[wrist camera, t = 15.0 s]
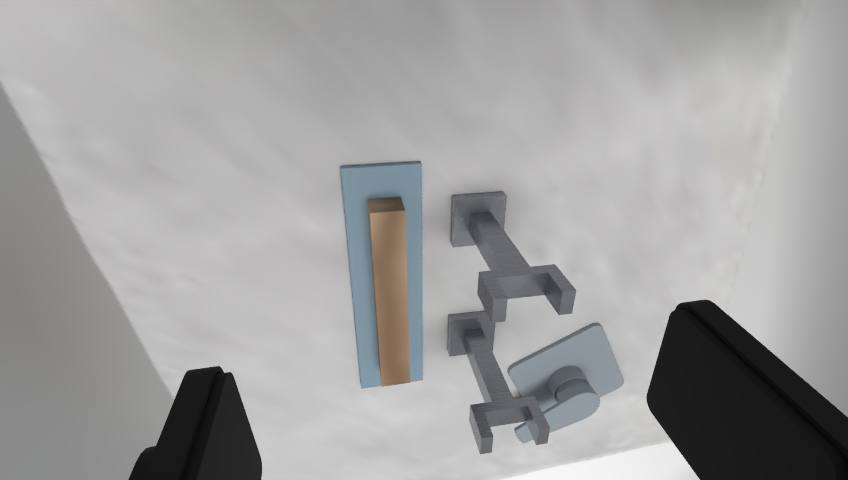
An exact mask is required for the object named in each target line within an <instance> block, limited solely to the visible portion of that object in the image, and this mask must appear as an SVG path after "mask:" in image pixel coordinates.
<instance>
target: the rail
mask: <svg viewBox="0 0 848 480" xmlns="http://www.w3.org/2000/svg"><path fill="white" fill-rule="evenodd" d="M367 201H368V215H369V229H370V243H371V257H372V272H373V286H374V300H375V314H376V328H377V342H378V357H379V369H380V376H381V384H382V386H389V385H396V384H403V383H410V359H409V322H408V286H407V250H406V214H405V208H404V205H403V202H402V199H401V197H390V198H377V199H367Z"/></svg>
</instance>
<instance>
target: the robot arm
mask: <svg viewBox="0 0 848 480" xmlns="http://www.w3.org/2000/svg"><path fill="white" fill-rule="evenodd" d="M647 403H648V407H649V409H650V411H651V412H652V414H653V415H654V417H655V418H656V419H657V421H658V422H659V424H660V425H661V426H662V428H663V429H664V430H665V432H666V433H667V435H668V436H669V437H670V439H671V440H672V441H673V443H674V444H675V446H676V447H677V448H678V450H679V451H680V452H681V454H682V455H683V457H684V458H685V459H686V461H687V462H688V464H689V465H690V466H691V468H692V469H693V470H694V472H695V473H696V475H697V476H698V477H699V479H700V480H848V417H846V416H845V415H844V414H843V413H842V412H841V411H840V410H838V409H837V408H836V407H835V406H834V405H832V404H831V403H830V402H829V401H828V400H827V399H825V398H824V397H823V396H822V395H821V394H819V393H818V392H817V391H816V390H815V389H814V388H813V387H811V386H810V385H809V384H808V383H807V382H805V381H804V380H803V379H802V378H801V377H800V376H798V375H797V374H796V373H795V372H794V371H793V370H791V369H790V368H789V367H788V366H787V365H786V364H784V363H783V362H782V361H781V360H780V359H779V358H778V357H776V356H775V355H774V354H773V353H772V352H770V351H769V350H768V349H767V348H766V347H765V346H764V345H762V344H761V343H760V342H759V341H758V340H757V339H755V338H754V337H753V336H752V335H751V334H749V333H748V332H747V331H746V330H745V329H744V328H742V327H741V326H740V325H739V324H738V323H737V322H736V321H734V320H733V319H732V318H731V317H730V316H729V315H727V314H726V313H725V312H724V311H723V310H722V309H720V308H719V307H718V306H717V305H716V304H715V303H713V302H711V301H709V300H699V301H692V302H685V303H680V304H679V305H678V306H677V307H676V309H675V311H673V312H672V313H671V314H670V316H669V320H668V323H667V327H666V330H665V334H664V337H663V341H662V344H661V348H660V351H659V355H658V358H657V361H656V365H655V368H654V372H653V375H652V379H651V382H650V386H649V389H648V393H647ZM261 476H262V462H261V457H260V454H259V451H258V448H257V445H256V442H255V439H254V436H253V433H252V430H251V427H250V424H249V421H248V418H247V415H246V412H245V409H244V406H243V403H242V400H241V397H240V394H239V391H238V388H237V385H236V382H235V379H234V376H233V374H232V373H231V372H228V373H224V372H223V370H222V368H221V367H220V366H217V367H209V368H202V369H195V370H189V371H187V372H186V374H185V375H184V378H183V380H182V383H181V385H180V388H179V390H178V393H177V395H176V398H175V400H174V403H173V405H172V408H171V410H170V413H169V415H168V418H167V420H166V423H165V425H164V428H163V430H162V433H161V435H160V438H159V440H158V443H157V445H156V446H154V447H149V448H146V449H145V450H144V451H143V452H142V453H141V454H140V456H139V458H138V460H137V461H136V463H135V466H134V468H133V470H132V473H131V475H130V477H129V480H261Z"/></svg>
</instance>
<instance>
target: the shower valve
mask: <svg viewBox="0 0 848 480" xmlns="http://www.w3.org/2000/svg"><path fill="white" fill-rule="evenodd" d="M508 373H509V375H510V377H511V379H512V381H513V382H514V384H515V386H516V387H517V389H518V390H519V392H520V394H521V395H522V397H528V396H535V398H536V400H537V402H538V404H539V406H540V408H541V410H542V412H543V414H544V416H545V418H546V420H547V422H548V424H549V426H550V431H549V433H551V432H553V431H556V430H558V429H561V428H563V427H565V426H568V425H570V424H573V423H576V422H578V421H581V420H583V419H585V418H587V417H589V416H590V415H592V414H593V413H594V412H595V411H596V410H597V409H598V407H599V404H600V399H599V398H600V397H602V396H604V395H606V394H608V393H610V392H612V391H614V390H616V389H618V388H619V387H621V386H622V385H623V383H624V380H623V377H622V375H621V372H620V369H619V367H618V364H617V362H616V359H615V357H614V354H613V352H612V349H611V347H610V344H609V342H608V339H607V337H606V334H605V332H604V329H603V328H602V326H601V325H600V324H599V323H592V324H590V325H588V326H586V327H584V328H582V329H580V330H578V331H576V332H574V333H572V334H570V335H568V336H566V337H564V338H562V339H560V340H558V341H556V342H555V343H553V344H551V345H549V346H547V347H545V348H543V349H541V350H539V351H537V352H535V353H533V354H531V355H529V356H527V357H525V358H523V359H521V360H519V361H517V362H515V363H513V364H512V365H511V366H510V367H509V368H508ZM514 429H515V433H516V436H517V438H518V439H519V440H520V441H521V442H522V443H526V442H528V441H531V440H533V437H532V434H531V432H530V430H529V428H528V426H527V423H526V422H524V423H523V424H521V425H519V426H518V427H516V428H514Z"/></svg>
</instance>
